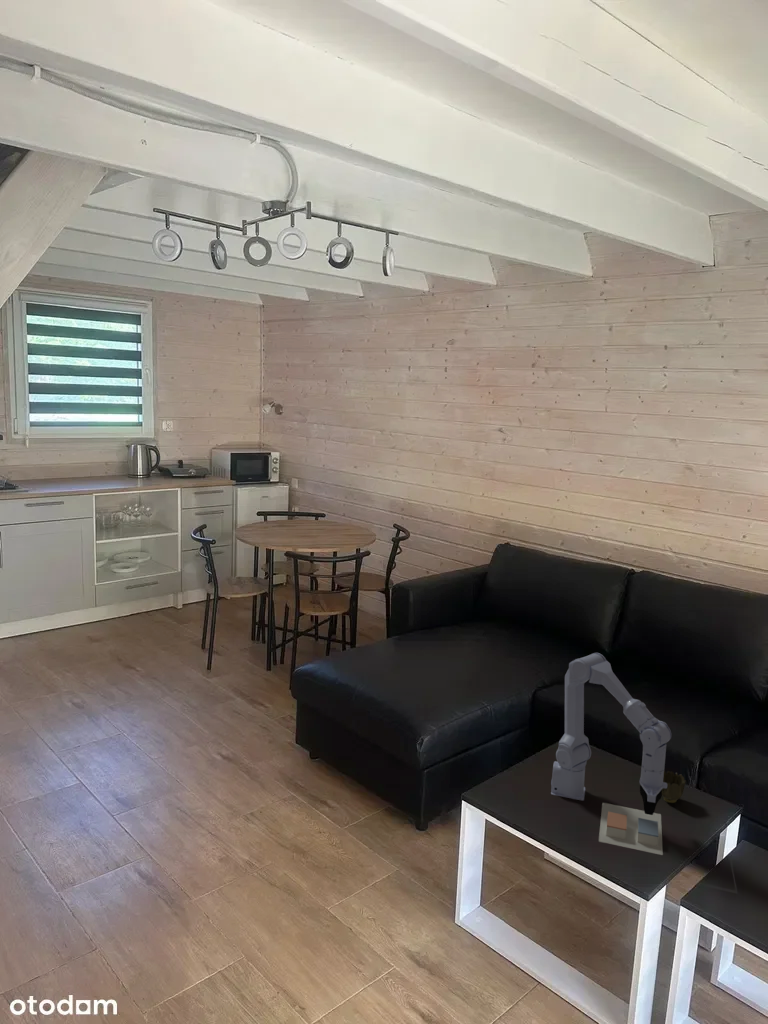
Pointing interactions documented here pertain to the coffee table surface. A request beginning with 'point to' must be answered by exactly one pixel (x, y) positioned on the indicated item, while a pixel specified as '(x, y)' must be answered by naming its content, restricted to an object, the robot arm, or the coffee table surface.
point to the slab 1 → (616, 825)
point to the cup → (673, 786)
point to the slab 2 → (647, 832)
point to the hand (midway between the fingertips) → (648, 813)
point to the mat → (630, 828)
